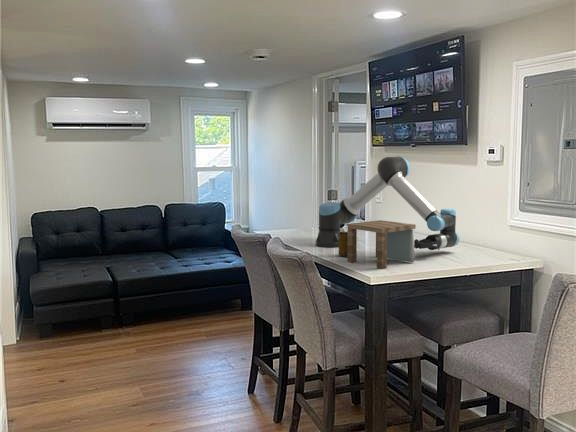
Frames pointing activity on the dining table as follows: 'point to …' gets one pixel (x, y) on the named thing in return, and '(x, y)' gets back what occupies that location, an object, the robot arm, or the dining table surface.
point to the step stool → (381, 238)
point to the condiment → (343, 244)
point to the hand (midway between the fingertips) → (404, 246)
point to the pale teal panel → (401, 245)
